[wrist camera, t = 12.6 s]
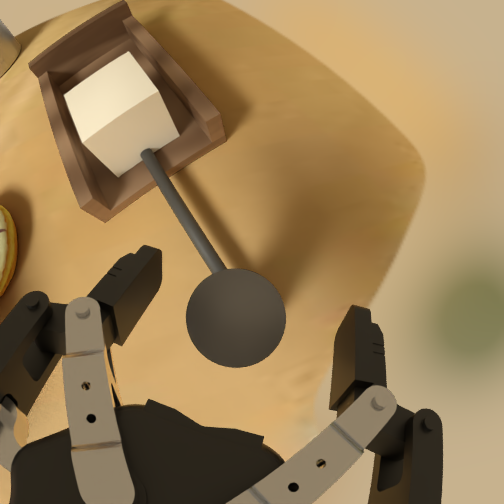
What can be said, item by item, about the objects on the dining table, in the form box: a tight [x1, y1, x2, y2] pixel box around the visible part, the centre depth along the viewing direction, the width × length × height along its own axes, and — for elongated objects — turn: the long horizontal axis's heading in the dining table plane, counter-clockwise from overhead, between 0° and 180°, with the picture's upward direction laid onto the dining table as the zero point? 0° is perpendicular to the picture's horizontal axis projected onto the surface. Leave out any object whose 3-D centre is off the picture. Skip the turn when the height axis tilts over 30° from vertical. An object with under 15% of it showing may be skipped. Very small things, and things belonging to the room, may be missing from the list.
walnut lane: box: [28, 0, 226, 223], centre depth 23 cm, size 20×12×6 cm, turn 34°
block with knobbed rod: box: [64, 51, 286, 368], centre depth 17 cm, size 22×6×10 cm, turn 34°
